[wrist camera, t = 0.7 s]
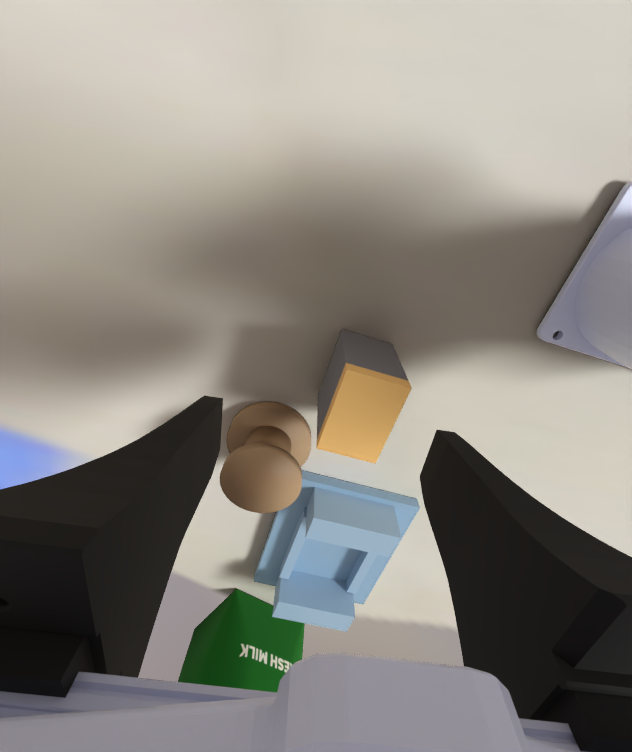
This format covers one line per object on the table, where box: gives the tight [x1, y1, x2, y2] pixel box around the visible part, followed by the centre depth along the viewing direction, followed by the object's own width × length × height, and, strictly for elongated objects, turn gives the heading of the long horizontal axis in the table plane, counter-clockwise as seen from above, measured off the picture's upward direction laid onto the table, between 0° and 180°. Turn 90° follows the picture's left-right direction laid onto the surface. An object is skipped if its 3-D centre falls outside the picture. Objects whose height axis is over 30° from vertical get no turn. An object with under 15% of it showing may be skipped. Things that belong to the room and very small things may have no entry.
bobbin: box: [220, 402, 311, 513], centre depth 22 cm, size 5×5×4 cm
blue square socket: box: [254, 470, 420, 631], centre depth 27 cm, size 9×11×3 cm
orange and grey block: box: [317, 329, 411, 463], centre depth 20 cm, size 3×4×5 cm
